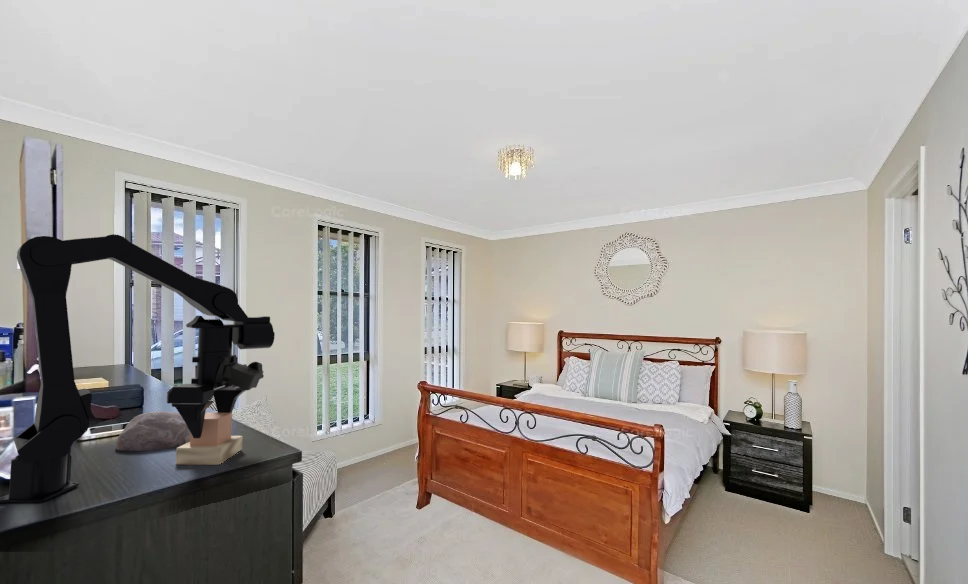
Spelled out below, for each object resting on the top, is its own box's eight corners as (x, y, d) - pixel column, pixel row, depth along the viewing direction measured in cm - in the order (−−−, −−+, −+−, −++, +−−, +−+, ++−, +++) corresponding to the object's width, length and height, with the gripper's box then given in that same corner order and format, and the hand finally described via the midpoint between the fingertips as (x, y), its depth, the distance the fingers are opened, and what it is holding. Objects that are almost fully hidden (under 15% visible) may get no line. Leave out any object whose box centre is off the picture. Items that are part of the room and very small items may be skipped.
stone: (212, 463, 98) (218, 423, 104) (210, 440, 92) (215, 399, 98) (117, 474, 90) (129, 430, 97) (107, 449, 84) (120, 405, 91)
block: (189, 445, 82) (191, 418, 83) (205, 437, 87) (206, 412, 88) (217, 445, 83) (218, 419, 83) (231, 437, 88) (232, 412, 88)
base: (220, 464, 81) (220, 448, 81) (175, 464, 81) (176, 448, 81) (241, 450, 89) (242, 435, 89) (201, 450, 89) (202, 435, 89)
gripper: (232, 356, 77) (228, 446, 76) (277, 347, 95) (274, 419, 95) (166, 355, 76) (162, 446, 76) (224, 346, 95) (221, 419, 94)
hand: (211, 431), depth 85 cm, fingers open, 9 cm apart
